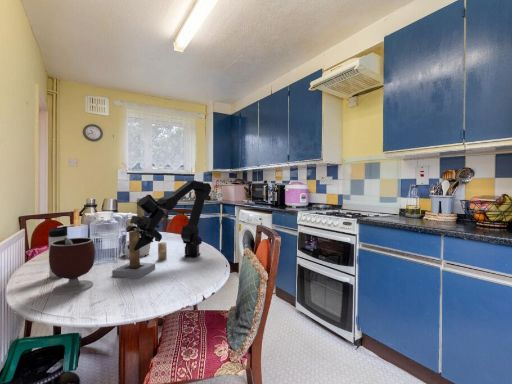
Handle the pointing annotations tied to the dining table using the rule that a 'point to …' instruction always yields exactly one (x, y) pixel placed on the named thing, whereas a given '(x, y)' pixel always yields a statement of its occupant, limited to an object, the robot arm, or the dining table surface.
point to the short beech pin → (162, 251)
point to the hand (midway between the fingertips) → (131, 249)
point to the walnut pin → (133, 254)
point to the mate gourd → (72, 263)
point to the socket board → (133, 270)
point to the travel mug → (56, 235)
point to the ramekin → (143, 250)
